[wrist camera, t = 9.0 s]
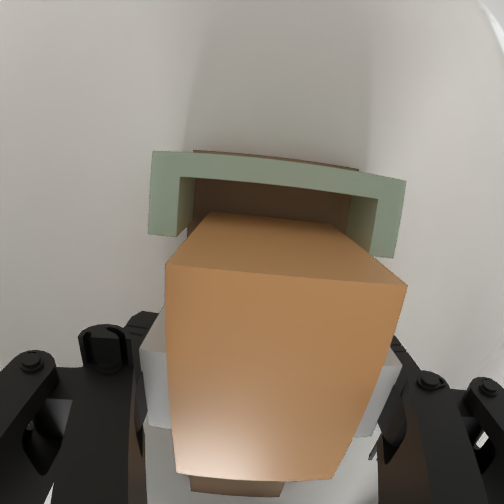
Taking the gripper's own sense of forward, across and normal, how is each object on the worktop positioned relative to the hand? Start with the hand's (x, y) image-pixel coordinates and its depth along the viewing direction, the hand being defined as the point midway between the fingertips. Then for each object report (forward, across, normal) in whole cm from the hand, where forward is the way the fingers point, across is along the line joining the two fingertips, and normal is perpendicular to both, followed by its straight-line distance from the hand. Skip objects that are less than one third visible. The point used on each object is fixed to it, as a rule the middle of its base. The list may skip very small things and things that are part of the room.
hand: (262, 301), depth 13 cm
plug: (0, 0, +3) cm, 3 cm away
